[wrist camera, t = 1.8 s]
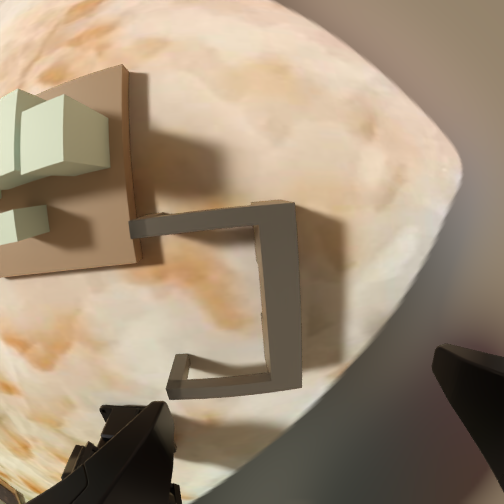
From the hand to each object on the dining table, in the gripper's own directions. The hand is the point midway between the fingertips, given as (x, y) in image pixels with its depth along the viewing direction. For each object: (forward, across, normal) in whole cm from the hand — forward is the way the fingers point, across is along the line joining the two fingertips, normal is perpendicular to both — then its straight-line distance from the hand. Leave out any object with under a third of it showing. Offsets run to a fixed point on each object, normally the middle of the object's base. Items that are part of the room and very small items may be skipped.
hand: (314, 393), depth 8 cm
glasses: (+13, +3, +1) cm, 13 cm away
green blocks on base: (+13, +16, -10) cm, 23 cm away
